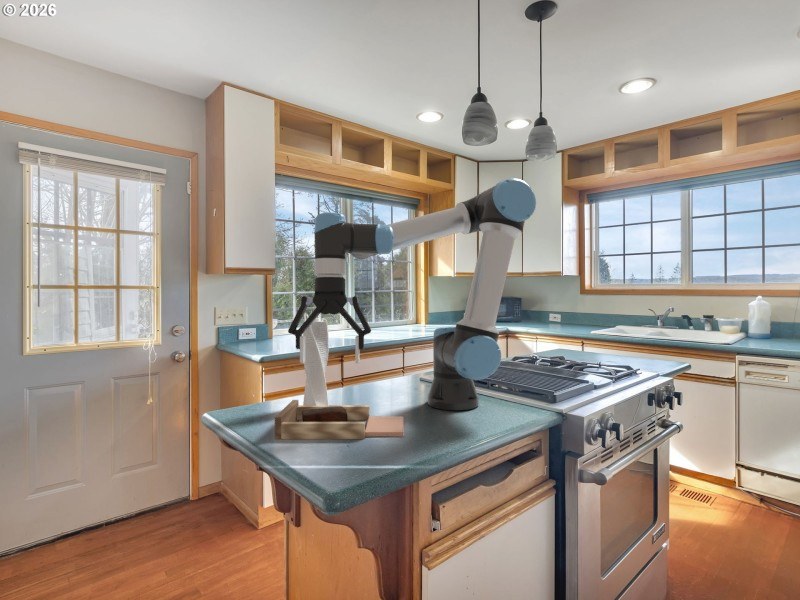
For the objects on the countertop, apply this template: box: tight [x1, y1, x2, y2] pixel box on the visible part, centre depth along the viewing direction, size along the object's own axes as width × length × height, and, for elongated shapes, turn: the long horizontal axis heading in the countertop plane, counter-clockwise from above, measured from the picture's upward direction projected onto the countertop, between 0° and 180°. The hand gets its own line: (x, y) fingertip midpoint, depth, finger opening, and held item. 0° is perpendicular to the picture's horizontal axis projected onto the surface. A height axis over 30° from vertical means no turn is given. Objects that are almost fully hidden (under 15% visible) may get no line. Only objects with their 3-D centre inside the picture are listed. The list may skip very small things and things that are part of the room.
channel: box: [274, 399, 371, 440], centre depth 106 cm, size 20×16×5 cm
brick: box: [301, 406, 349, 422], centre depth 104 cm, size 11×4×5 cm, turn 104°
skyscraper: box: [302, 312, 330, 405], centre depth 124 cm, size 8×8×28 cm
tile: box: [365, 415, 405, 437], centre depth 106 cm, size 9×13×1 cm
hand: (330, 362), depth 106 cm, fingers open, 13 cm apart
